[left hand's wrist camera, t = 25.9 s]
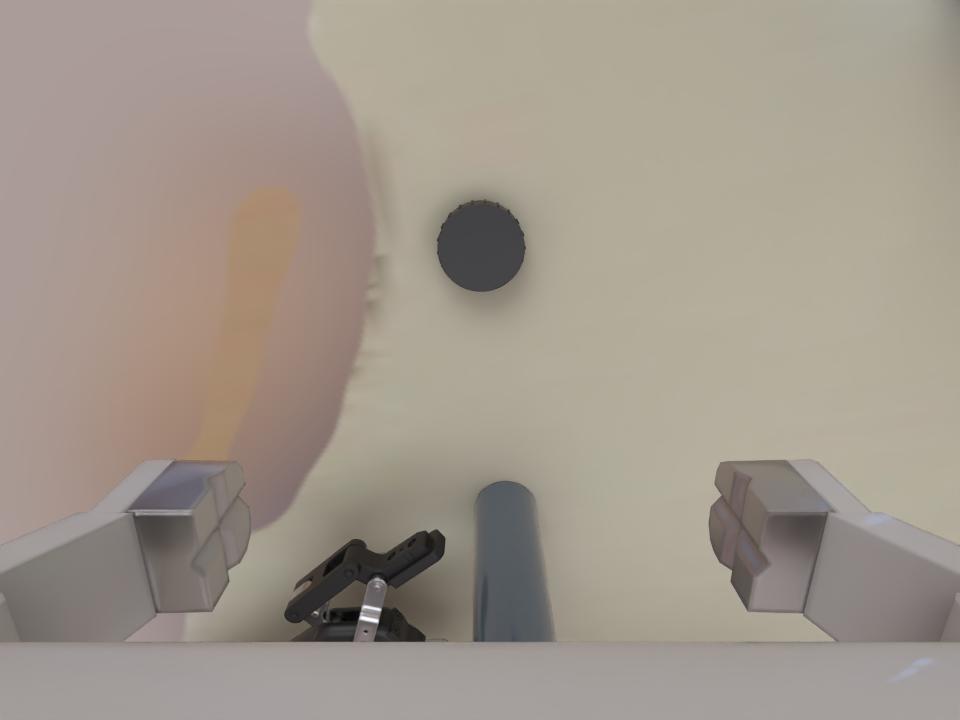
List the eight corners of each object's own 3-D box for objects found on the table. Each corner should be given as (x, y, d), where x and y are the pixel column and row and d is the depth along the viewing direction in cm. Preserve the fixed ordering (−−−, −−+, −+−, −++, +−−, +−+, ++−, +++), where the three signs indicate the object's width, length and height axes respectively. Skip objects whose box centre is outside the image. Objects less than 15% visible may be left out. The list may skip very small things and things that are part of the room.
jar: (507, 469, 42) (524, 668, 26) (548, 509, 43) (588, 722, 27) (461, 506, 43) (451, 717, 27) (502, 543, 44) (515, 768, 28)
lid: (461, 297, 37) (459, 306, 35) (424, 221, 36) (420, 226, 34) (536, 263, 37) (539, 270, 34) (502, 184, 35) (503, 187, 33)
